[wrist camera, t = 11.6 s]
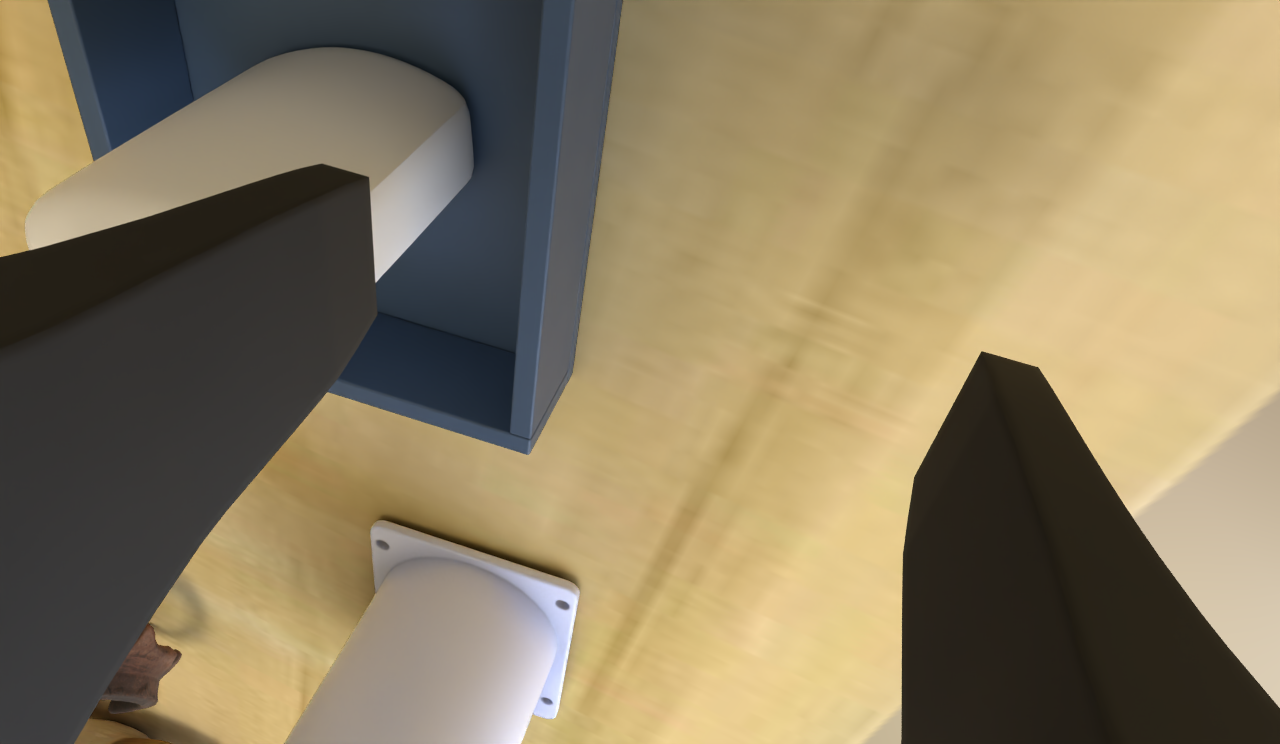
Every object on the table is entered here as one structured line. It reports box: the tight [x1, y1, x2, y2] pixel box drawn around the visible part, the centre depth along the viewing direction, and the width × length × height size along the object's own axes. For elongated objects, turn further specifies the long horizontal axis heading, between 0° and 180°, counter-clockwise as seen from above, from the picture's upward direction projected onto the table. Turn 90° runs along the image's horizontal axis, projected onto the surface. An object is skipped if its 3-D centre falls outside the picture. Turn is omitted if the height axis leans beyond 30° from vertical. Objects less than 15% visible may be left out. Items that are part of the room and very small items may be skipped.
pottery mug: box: [100, 624, 182, 714], centre depth 39 cm, size 12×10×8 cm
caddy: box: [48, 0, 623, 455], centre depth 20 cm, size 13×11×4 cm
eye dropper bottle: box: [25, 47, 474, 283], centre depth 17 cm, size 4×6×12 cm
